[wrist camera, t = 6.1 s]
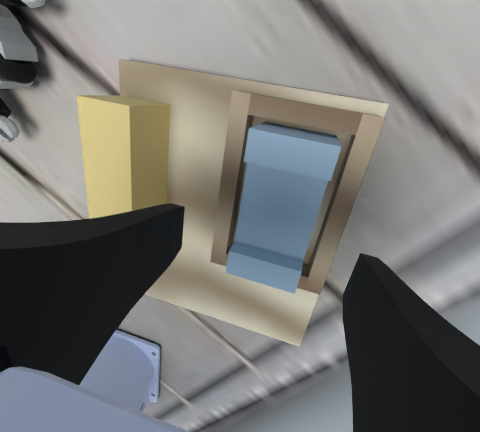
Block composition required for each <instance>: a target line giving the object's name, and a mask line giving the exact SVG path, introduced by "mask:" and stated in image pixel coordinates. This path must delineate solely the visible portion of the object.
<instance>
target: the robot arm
mask: <svg viewBox="0 0 480 432" xmlns="http://www.w3.org/2000/svg"><path fill="white" fill-rule="evenodd" d="M184 211H185V207H184V206H180V205H177V204H173V203H168V204H161V205H156V206H152V207H147V208H143V209H138V210H134V211H130V212H125V213H119V214H114V215H109V216H104V217H98V218H91V219H82V220H73V221H58V222H40V223H0V432H188V431H186V430H183V429H181V428H178V427H176V426H174V425H171V424H169V423H167V422H164V421H162V420H159V419H157V418H155V417H152V416H150V415H148V414H145V413H143V412H142V411H143V409H144V408H145V406H146V404H147V402H148V401H150V402H153V403H156V402H157V401H158V399H159V371H160V347H159V346H158V345H156V344H154V343H151V342H148V341H146V340H143V339H140V338H138V337H135V336H132V335H129V334H127V333H124V332H121V331H119V330H116V329H117V328H118V326H119V325H120V324H121V322H122V321H123V320H124V318H125V317H126V315H127V314H128V313H129V311H130V310H131V309H132V308H133V306H134V305H135V304H136V303H137V302H138V301H139V299H140V298H141V297H142V296H143V295H144V294H145V293H146V292H147V291H148V289H149V288H150V287H151V286H152V285H153V284H154V283H155V282H156V281H157V280H158V278H159V277H160V276H161V275H162V274H163V273H164V272H165V271H166V269H167V268H168V267H169V266H170V265H171V263H172V262H173V260H174V259H175V258H176V256H177V254H178V253H179V251H180V250H181V248H182V238H183V225H184ZM343 324H344V332H345V339H346V346H347V353H348V360H349V367H350V374H351V384H352V404H353V432H480V346H479V345H478V344H477V343H475V342H474V341H472V340H471V339H470V338H469V337H467V336H466V335H464V334H463V333H462V332H460V331H459V330H458V329H457V328H455V327H454V326H453V325H452V324H450V323H449V322H448V321H447V320H445V319H444V318H443V317H442V316H441V315H439V314H438V313H437V312H436V311H435V310H434V309H432V308H431V307H430V306H429V305H428V304H427V303H426V302H424V301H423V300H422V299H421V298H420V297H419V296H418V295H417V294H416V293H415V292H414V291H413V290H411V289H410V288H409V287H408V286H407V285H406V284H405V283H404V282H403V281H402V280H401V279H400V278H399V277H398V276H397V275H396V274H395V273H394V272H393V271H392V270H391V269H390V268H389V267H388V266H387V265H386V264H385V263H383V262H382V261H381V260H380V259H379V258H377V257H373V256H369V255H366V254H362V253H360V255H359V258H358V260H357V263H356V265H355V267H354V270H353V272H352V275H351V277H350V279H349V282H348V284H347V286H346V289H345V291H344V294H343Z"/></svg>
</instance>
